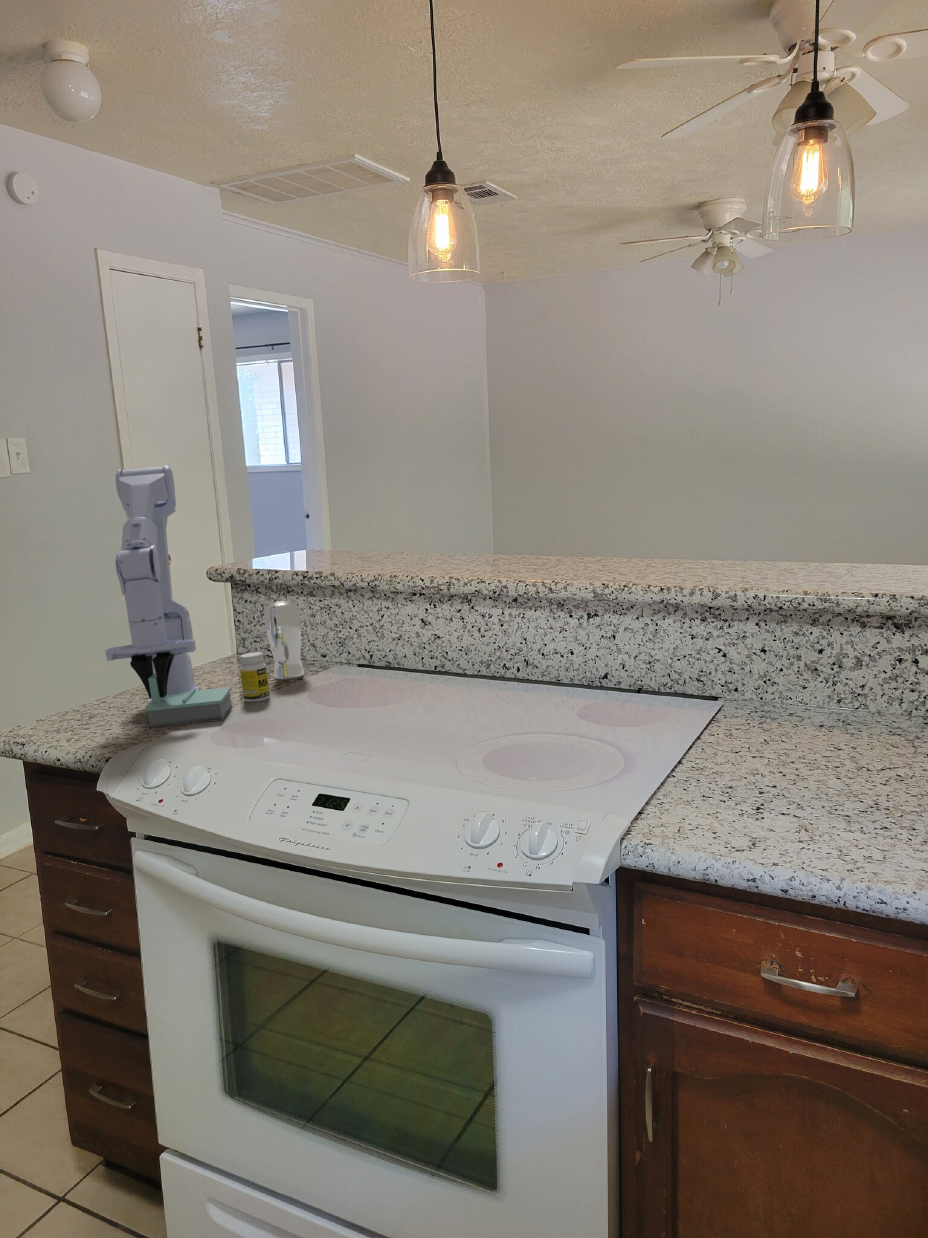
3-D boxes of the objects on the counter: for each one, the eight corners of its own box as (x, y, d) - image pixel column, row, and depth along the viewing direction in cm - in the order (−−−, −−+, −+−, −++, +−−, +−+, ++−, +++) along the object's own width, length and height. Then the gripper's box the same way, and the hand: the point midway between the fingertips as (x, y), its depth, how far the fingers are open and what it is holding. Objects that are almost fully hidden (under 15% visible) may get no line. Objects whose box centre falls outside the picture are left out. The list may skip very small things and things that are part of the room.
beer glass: (296, 670, 184) (287, 599, 181) (313, 674, 178) (304, 601, 176) (266, 677, 179) (256, 604, 177) (282, 682, 174) (272, 607, 172)
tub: (163, 713, 157) (161, 697, 157) (231, 706, 158) (229, 690, 158) (150, 727, 149) (147, 710, 148) (222, 720, 149) (219, 703, 149)
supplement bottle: (263, 702, 159) (257, 656, 158) (239, 703, 160) (233, 658, 159) (274, 695, 164) (268, 651, 162) (250, 696, 165) (245, 652, 163)
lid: (159, 697, 157) (155, 669, 156) (231, 689, 158) (227, 662, 157) (145, 711, 148) (140, 682, 147) (221, 703, 149) (217, 674, 148)
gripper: (95, 627, 146) (108, 707, 148) (184, 618, 147) (195, 697, 149) (108, 620, 153) (120, 696, 155) (193, 612, 154) (204, 687, 156)
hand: (158, 696), depth 152 cm, fingers closed on lid
